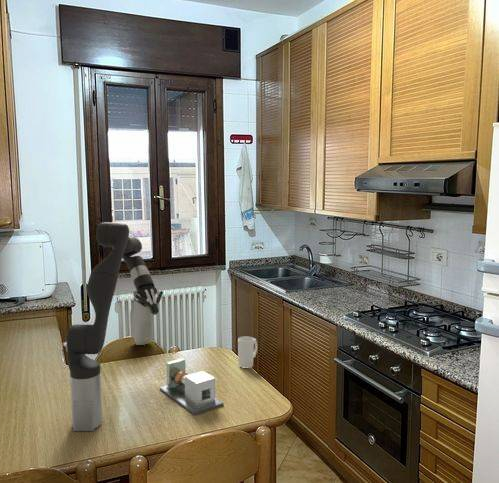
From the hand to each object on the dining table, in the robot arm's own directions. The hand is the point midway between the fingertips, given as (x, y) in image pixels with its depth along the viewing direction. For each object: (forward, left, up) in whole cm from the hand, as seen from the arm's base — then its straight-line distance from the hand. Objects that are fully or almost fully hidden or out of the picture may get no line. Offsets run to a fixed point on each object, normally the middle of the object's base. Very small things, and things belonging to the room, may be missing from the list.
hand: (156, 313), depth 193 cm
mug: (+8, -38, -26) cm, 47 cm away
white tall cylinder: (+35, +12, -26) cm, 45 cm away
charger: (+30, +41, -26) cm, 57 cm away
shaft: (-18, -13, -24) cm, 33 cm away
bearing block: (-22, -15, -25) cm, 37 cm away
